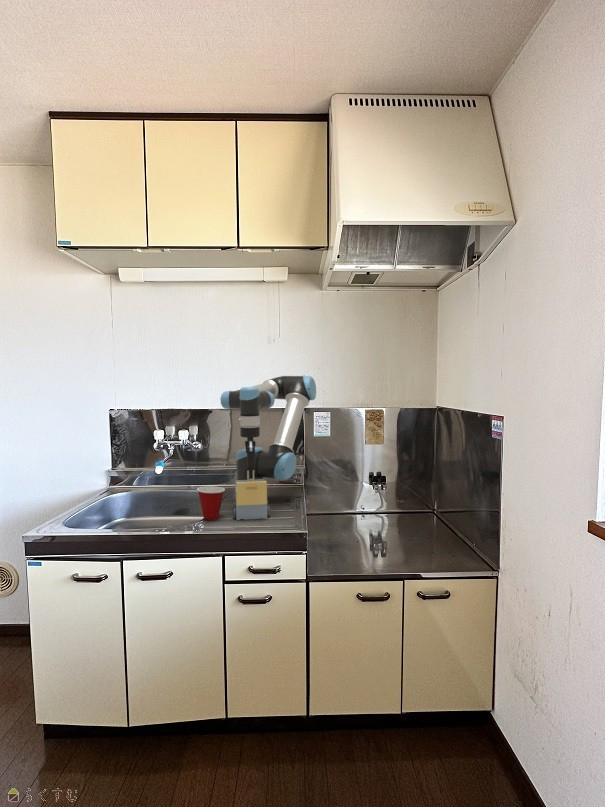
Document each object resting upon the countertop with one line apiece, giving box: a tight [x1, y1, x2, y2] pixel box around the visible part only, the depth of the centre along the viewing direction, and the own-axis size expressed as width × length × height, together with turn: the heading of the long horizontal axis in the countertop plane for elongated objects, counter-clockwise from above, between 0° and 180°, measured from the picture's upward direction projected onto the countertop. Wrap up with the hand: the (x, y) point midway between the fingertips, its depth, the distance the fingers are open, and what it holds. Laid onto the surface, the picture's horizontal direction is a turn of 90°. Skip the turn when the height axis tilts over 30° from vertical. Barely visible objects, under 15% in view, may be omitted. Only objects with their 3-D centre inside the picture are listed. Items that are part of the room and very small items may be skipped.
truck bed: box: [232, 478, 271, 521], centre depth 190 cm, size 14×14×12 cm
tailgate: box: [236, 480, 268, 506], centre depth 181 cm, size 2×12×9 cm, turn 99°
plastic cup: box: [196, 485, 226, 521], centre depth 185 cm, size 11×11×12 cm
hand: (250, 486), depth 185 cm, fingers closed
